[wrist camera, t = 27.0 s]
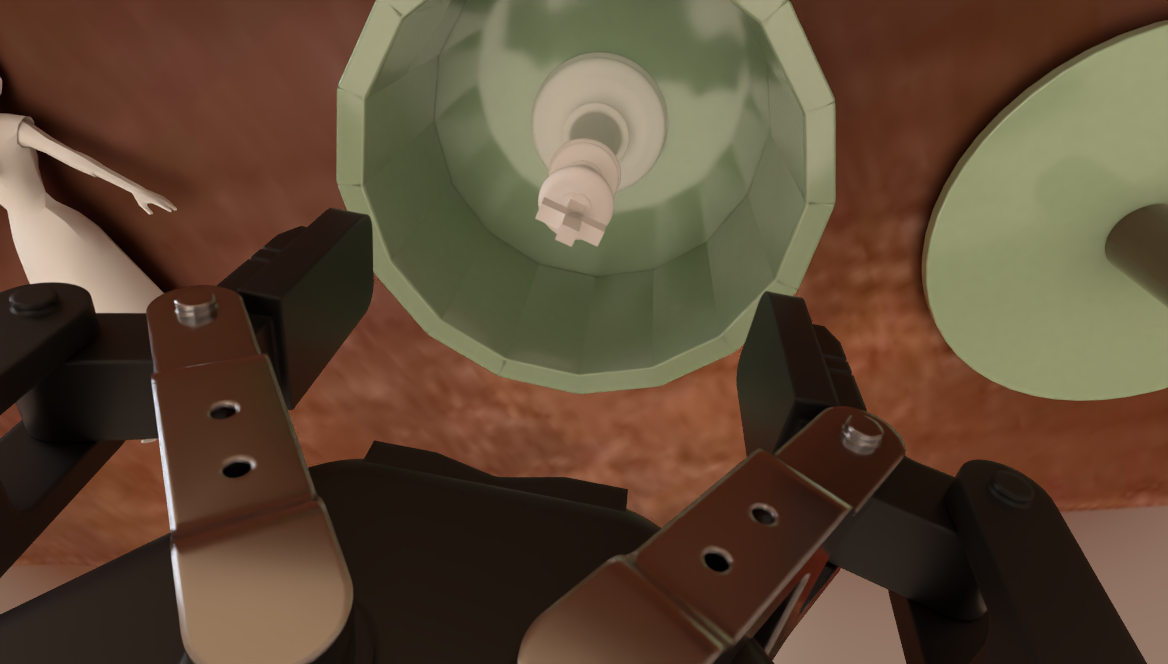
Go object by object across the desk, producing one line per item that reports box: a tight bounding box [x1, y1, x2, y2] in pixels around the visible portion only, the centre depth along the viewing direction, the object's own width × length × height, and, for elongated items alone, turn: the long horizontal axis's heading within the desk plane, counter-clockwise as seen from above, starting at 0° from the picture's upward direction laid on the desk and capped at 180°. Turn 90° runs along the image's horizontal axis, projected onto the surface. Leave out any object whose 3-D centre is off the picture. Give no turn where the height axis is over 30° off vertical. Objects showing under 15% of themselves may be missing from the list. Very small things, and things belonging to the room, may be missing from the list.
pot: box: [337, 0, 836, 394], centre depth 22 cm, size 14×14×8 cm
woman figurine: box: [0, 77, 177, 443], centre depth 28 cm, size 12×4×18 cm
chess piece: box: [532, 52, 668, 247], centre depth 20 cm, size 5×5×10 cm
